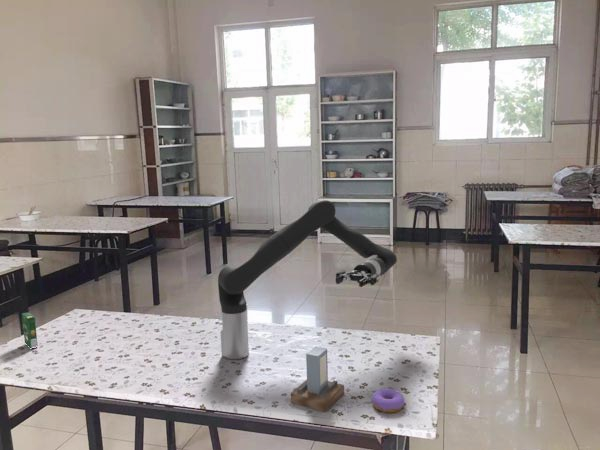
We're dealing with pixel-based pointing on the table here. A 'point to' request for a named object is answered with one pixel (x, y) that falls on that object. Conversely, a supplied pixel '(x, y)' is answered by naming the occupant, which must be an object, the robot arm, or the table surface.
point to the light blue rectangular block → (317, 370)
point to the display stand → (318, 396)
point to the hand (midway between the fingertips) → (348, 282)
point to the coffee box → (29, 329)
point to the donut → (388, 400)
